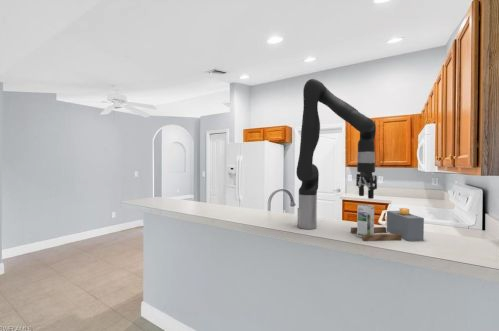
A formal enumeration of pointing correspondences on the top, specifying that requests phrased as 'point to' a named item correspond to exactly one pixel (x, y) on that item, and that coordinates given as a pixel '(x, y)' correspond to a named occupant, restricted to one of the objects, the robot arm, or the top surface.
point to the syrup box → (365, 219)
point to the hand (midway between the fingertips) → (365, 197)
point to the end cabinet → (406, 226)
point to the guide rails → (378, 235)
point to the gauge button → (403, 211)
